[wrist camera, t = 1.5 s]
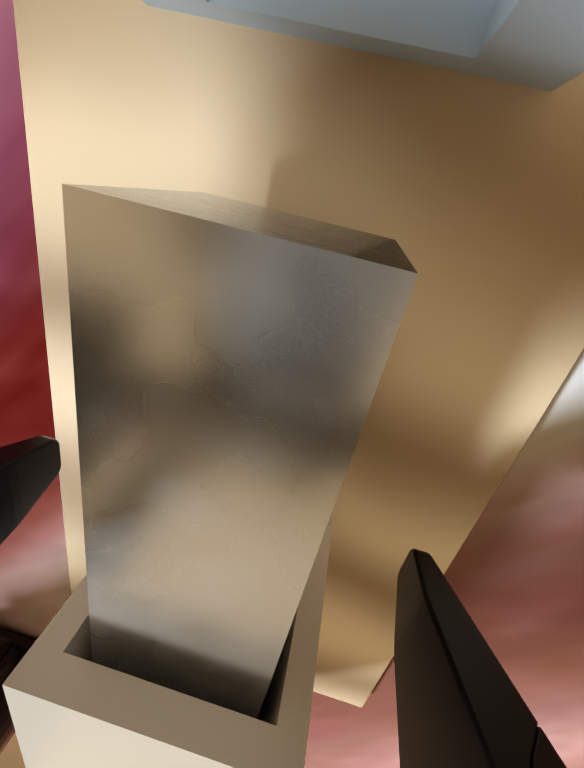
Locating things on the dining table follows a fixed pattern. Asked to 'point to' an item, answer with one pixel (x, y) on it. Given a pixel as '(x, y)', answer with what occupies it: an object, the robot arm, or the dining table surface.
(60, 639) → the sleeve
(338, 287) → the extension bar
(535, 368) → the base board
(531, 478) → the dining table surface
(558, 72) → the socket
